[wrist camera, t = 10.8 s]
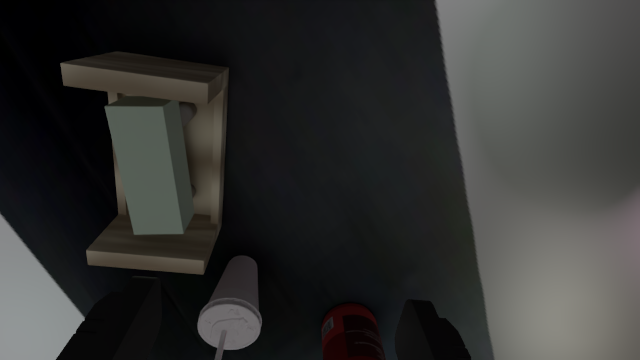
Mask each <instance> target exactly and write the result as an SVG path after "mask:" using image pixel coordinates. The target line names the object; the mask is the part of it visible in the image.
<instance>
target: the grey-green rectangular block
mask: <svg viewBox="0 0 640 360" xmlns="http://www.w3.org/2000/svg"><path fill="white" fill-rule="evenodd" d="M105 110H106V115H107V119H108V123H109V128H110V132H111V136H112V141H113V145H114V150H115V154H116V158H117V163H118V167H119V171H120V176H121V180H122V184H123V189H124V193H125V197H126V202H127V206H128V210H129V215H130V219H131V223H132V228H133V232H134V235H143V234H184V232H185V230H186V228H187V226H188V224H189V222H190V221H191V219H192V217H193V215H194V213H195V212H194V205H193V198H192V191H191V184H190V177H189V170H188V163H187V156H186V149H185V142H184V136H183V129H182V122H181V115H180V108H179V101H176V100H168V99H161V98H153V97H146V96H125V97H123V98H121V99H119V100H117V101H115V102H113V103H111V104H109V105H106V106H105Z"/></svg>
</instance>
